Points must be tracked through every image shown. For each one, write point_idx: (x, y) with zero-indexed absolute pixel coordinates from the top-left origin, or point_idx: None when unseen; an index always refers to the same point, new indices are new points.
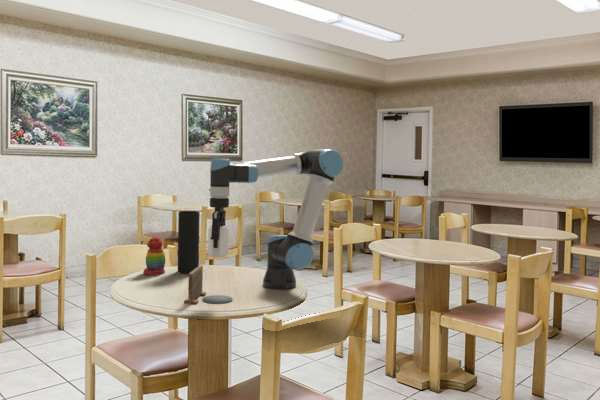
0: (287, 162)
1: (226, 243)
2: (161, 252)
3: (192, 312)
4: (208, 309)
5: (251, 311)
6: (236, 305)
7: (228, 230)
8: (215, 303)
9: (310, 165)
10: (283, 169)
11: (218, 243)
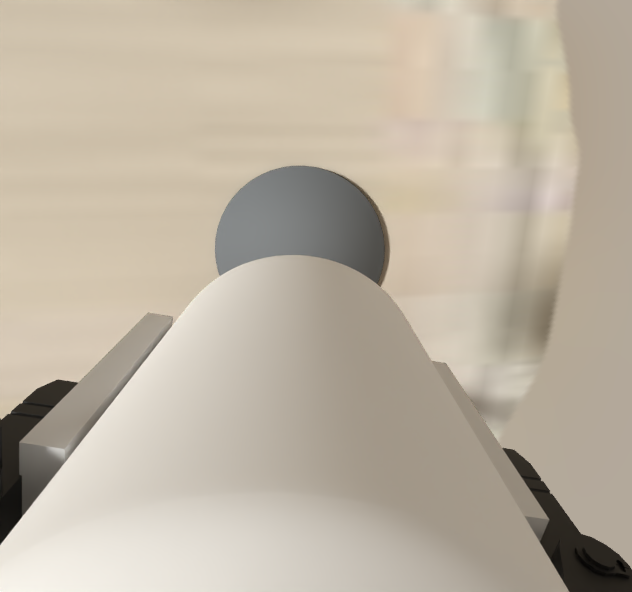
0: None
1: (407, 344)
2: None
3: (525, 359)
4: (484, 291)
5: (559, 50)
6: (422, 141)
7: (380, 497)
8: (382, 261)
9: None
10: None
11: (507, 478)
